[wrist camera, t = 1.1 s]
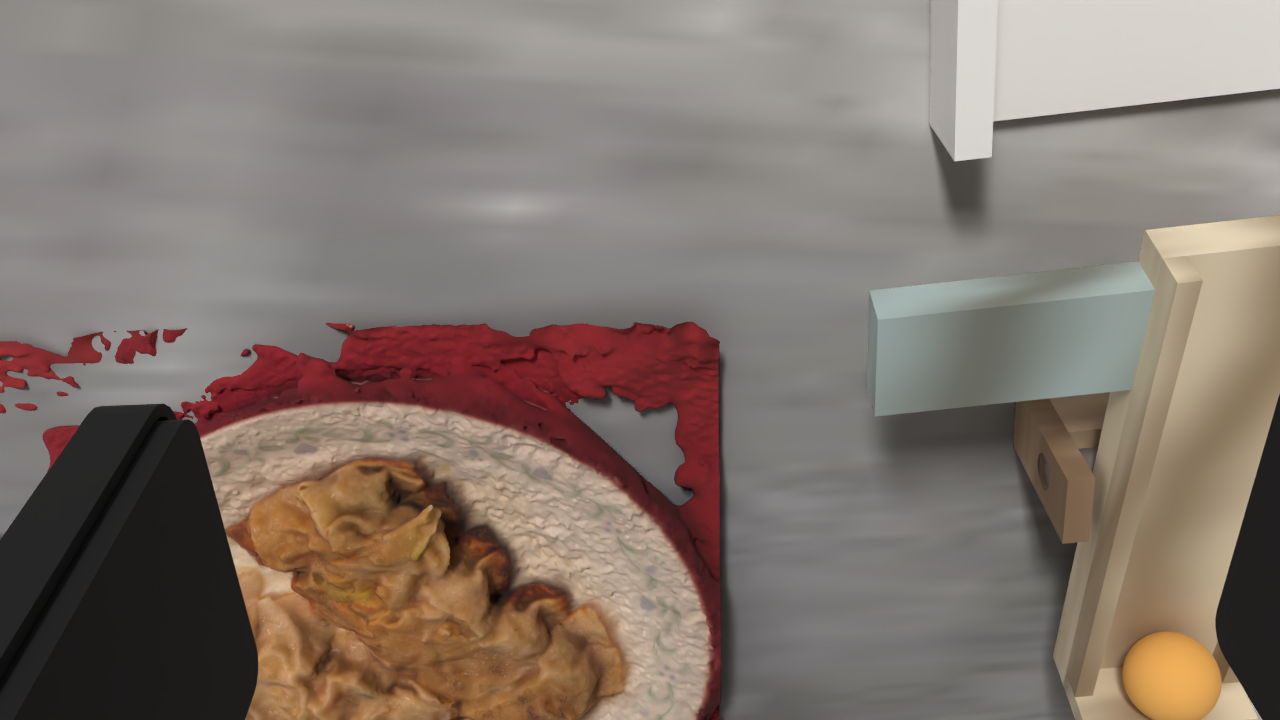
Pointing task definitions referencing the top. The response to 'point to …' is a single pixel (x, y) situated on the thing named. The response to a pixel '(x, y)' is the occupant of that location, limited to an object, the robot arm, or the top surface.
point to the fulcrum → (1062, 456)
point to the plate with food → (461, 522)
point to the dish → (1088, 58)
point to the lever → (1120, 421)
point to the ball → (1171, 677)
